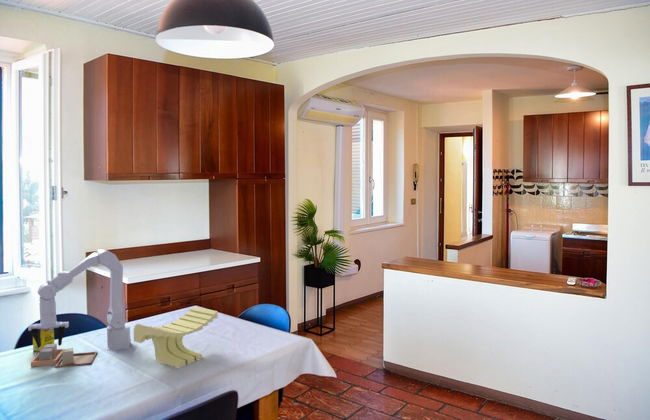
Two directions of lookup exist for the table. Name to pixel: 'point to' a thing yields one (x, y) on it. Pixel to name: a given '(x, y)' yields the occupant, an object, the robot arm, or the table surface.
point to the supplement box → (44, 339)
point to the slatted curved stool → (175, 336)
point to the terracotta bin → (46, 362)
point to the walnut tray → (79, 359)
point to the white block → (67, 356)
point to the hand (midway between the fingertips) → (49, 345)
